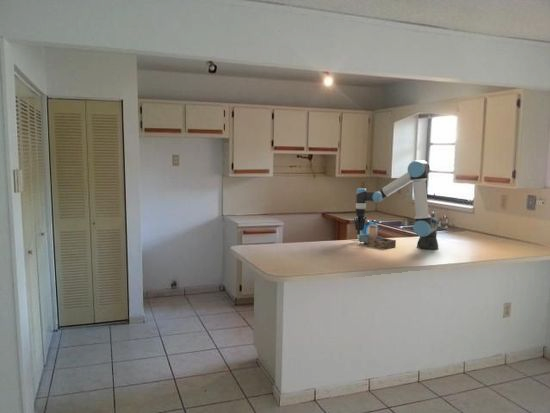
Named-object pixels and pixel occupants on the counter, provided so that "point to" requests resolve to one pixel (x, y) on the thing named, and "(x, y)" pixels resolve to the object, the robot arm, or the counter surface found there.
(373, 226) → the canister
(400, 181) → the robot arm
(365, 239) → the tray
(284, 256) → the counter surface
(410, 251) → the counter surface
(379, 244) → the stand
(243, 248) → the counter surface
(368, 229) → the alarm clock
